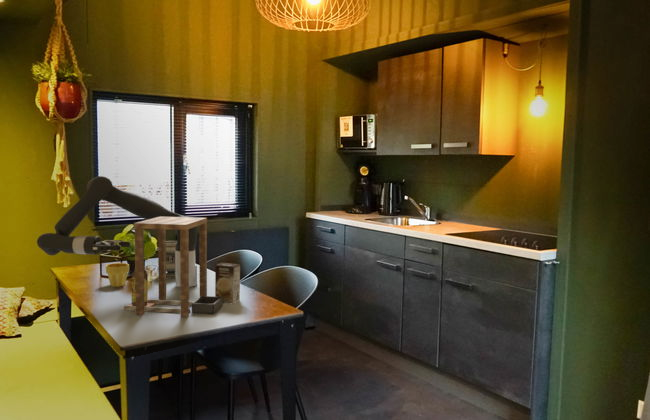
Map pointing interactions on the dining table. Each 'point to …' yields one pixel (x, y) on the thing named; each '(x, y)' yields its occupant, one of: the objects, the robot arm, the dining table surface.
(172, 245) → the apothecary jar
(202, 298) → the box
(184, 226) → the frame
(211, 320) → the dining table surface
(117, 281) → the plant pot
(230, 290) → the coffee box
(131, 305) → the pad
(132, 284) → the sauce bottle
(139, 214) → the robot arm
